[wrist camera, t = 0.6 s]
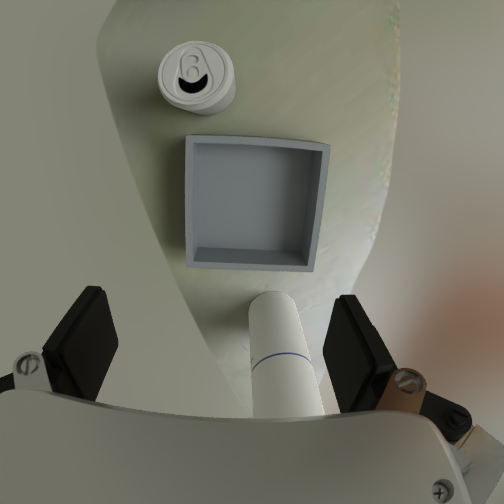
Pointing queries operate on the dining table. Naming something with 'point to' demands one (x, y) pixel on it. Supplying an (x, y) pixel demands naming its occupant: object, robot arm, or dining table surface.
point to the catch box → (253, 202)
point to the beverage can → (197, 78)
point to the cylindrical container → (280, 360)
